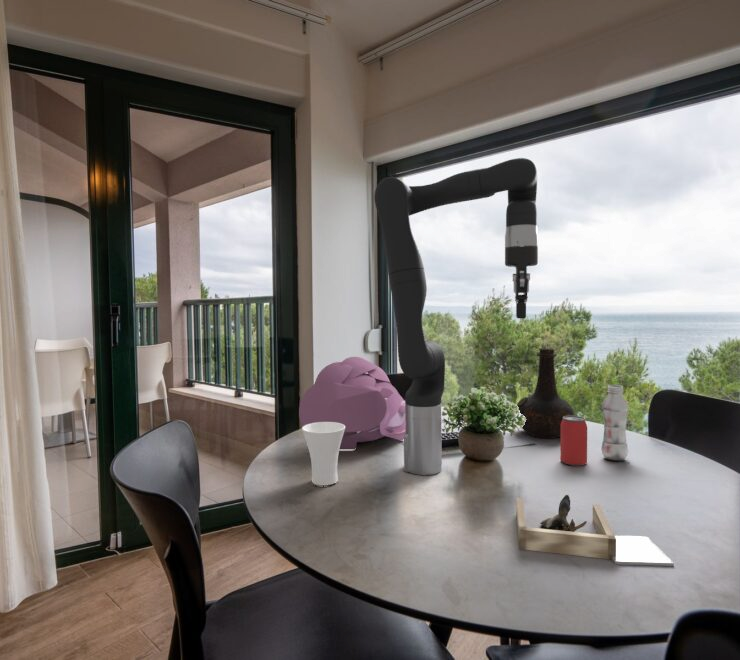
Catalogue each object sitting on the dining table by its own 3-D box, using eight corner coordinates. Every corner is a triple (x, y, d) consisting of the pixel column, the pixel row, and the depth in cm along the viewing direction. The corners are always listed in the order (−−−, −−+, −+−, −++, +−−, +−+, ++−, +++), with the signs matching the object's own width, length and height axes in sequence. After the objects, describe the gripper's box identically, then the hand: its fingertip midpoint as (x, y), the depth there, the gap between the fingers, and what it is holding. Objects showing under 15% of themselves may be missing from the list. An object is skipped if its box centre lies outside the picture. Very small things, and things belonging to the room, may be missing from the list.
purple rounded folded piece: (370, 441, 170) (361, 360, 174) (429, 437, 157) (418, 350, 161) (300, 457, 142) (291, 361, 146) (365, 455, 128) (353, 349, 132)
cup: (355, 481, 118) (354, 426, 118) (322, 493, 111) (321, 435, 110) (326, 471, 126) (325, 419, 125) (294, 482, 118) (292, 427, 117)
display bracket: (519, 549, 85) (519, 529, 85) (516, 514, 99) (516, 497, 98) (616, 559, 81) (616, 539, 81) (599, 522, 95) (599, 504, 94)
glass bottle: (511, 427, 167) (512, 345, 166) (566, 428, 165) (567, 345, 163) (520, 441, 149) (520, 351, 148) (581, 443, 147) (582, 350, 145)
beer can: (589, 467, 126) (590, 421, 125) (562, 465, 127) (563, 420, 126) (583, 459, 132) (584, 415, 132) (558, 458, 134) (558, 414, 133)
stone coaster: (615, 564, 79) (615, 561, 79) (595, 537, 88) (595, 535, 88) (673, 566, 79) (673, 563, 79) (646, 539, 88) (647, 536, 88)
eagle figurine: (598, 538, 86) (578, 508, 95) (578, 508, 85) (560, 480, 93) (559, 559, 87) (543, 527, 96) (539, 529, 86) (525, 500, 94)
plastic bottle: (602, 461, 130) (603, 387, 129) (600, 454, 136) (601, 383, 135) (629, 464, 127) (630, 388, 126) (626, 456, 134) (627, 384, 132)
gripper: (504, 249, 124) (504, 317, 125) (505, 243, 111) (505, 319, 112) (535, 248, 122) (535, 317, 123) (539, 242, 109) (539, 319, 110)
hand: (521, 318), depth 118 cm, fingers closed
